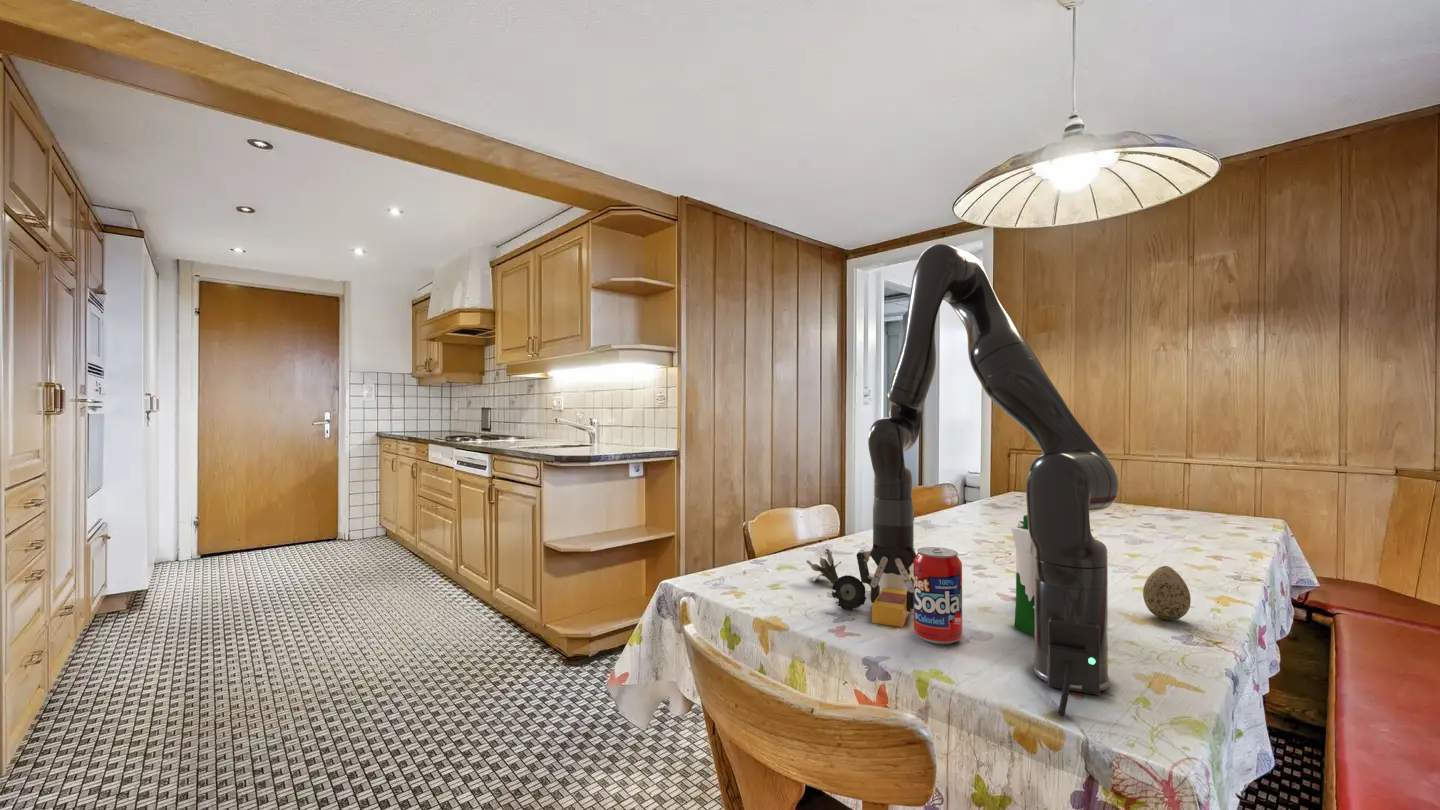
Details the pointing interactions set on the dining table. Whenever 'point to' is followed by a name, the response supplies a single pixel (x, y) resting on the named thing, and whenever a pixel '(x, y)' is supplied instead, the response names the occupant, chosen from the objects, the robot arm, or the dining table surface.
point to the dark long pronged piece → (841, 584)
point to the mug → (893, 580)
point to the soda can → (938, 595)
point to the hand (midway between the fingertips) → (893, 607)
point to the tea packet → (890, 607)
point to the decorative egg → (1166, 594)
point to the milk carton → (1024, 579)
